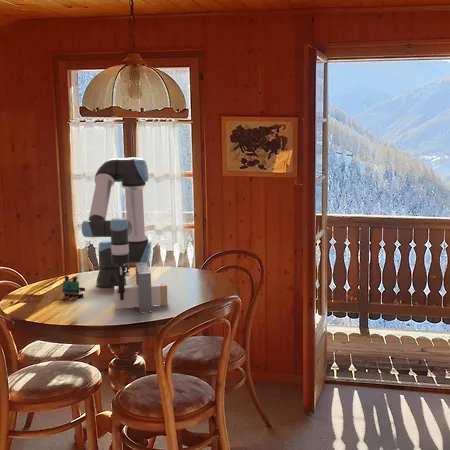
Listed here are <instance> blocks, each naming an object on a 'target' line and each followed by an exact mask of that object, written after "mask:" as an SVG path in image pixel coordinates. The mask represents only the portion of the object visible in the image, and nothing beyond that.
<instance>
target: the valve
mask: <svg viewBox="0 0 450 450" xmlns="http://www.w3.org/2000/svg"><path fill="white" fill-rule="evenodd" d="M129 265H130V264H123V266H125V276H127V274H129V273H130V271H129V270H130V269H131V268H130V267H129Z"/></svg>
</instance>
